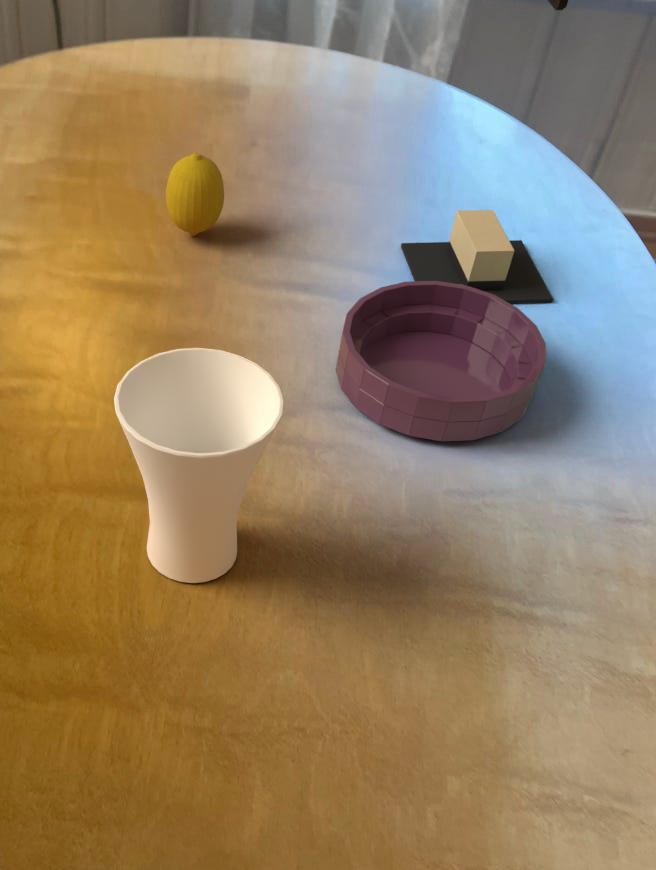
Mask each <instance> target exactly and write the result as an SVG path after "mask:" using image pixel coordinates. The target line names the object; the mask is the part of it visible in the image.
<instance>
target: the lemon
mask: <svg viewBox="0 0 656 870" xmlns="http://www.w3.org/2000/svg"><path fill="white" fill-rule="evenodd" d="M224 203H225V186H224V179H223V176H222V173H221V171H220V169H219V166H218V165H217V164H216V163H215V162H214V161H213V160H212V159H210V158H209V157H207V156H205V155H203V154H201V153H200V152H197V151H196V152H193V153H192V154H189V155H186V156H183V157H182V158H181V159H179V160H178V161H177V162H176V163H175V164H174V165H173V167H172V169H171V170H170V173H169V175H168V179H167V183H166V188H165V204H166V209H167V213H168V215H169V216H168V217H169V218H170V220H171V221H172V222H173V224H174V225H175V226H176V227H177V228H178V229H180V230H181V231H183V232H186V233H188V234H189V235H190V236H191V237H195V236H197V235H198V234H201V233H203V232H205V231H208V230H209V229H211V228H212V227H213V226H214V225H215V224H216V223H217V222H218V220H219V218H220V216H221V213H222V211H223V208H224Z"/></svg>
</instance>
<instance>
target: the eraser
mask: <svg viewBox="0 0 656 870" xmlns="http://www.w3.org/2000/svg"><path fill="white" fill-rule="evenodd" d="M510 241H511V240H510V239H509V238H508V235H507V234H506V231H505V229H504V228H503V226H502V224H501V222H500V220H499V218H498V216H497V215H496V213H495V211H494V209H473V210H472V209H471V210H469V209H468V210H466V209H465V210H456V211H455V216H454V221H453V223H452V228H451V233H450V236H449V241H448V242H449V244H448V248H447V251H448V253H449V255H450V258H451V260H452V262H453V264H454V267H455V269H456V271H457V273H458V275H459V278H460V280H461V282H462V284H463V285H465V286H469V287H472V288H475V289H479V290H482V291H486V290H502V289H503V285H504V282H505V279H506V276H507V273H508V270H509V267H510V263H511V260H512V257H513V254H514V249H513V247H512V245H511V243H510Z"/></svg>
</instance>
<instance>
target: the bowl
mask: <svg viewBox="0 0 656 870" xmlns="http://www.w3.org/2000/svg"><path fill="white" fill-rule="evenodd" d="M342 327H343V328H342V333H341V338H340V344H339V349H338V355H337V361H336V367H335V372H336V376H337V379H338V383H339V387H340V390H341V392H342V393H343V394H344V395H345V397H346V398H347V399H348V400H349V402H350V403H351V404H352V405H353V406H354V407H355V409H356V410H358V411H359V412H361V413H362V414H363V415H365V416H367V417H368V418H370V419H371V420H373V421H374V422H375V423H377V424H378V425H380V426H383V427H385V428H388V429H391V430H393V431H396V432H399V433H401V434H404V435H406V436H410V437H414V438H420V439H426V440H432V441H439V442H461V441H463V442H464V441H476V440H479V439H482V438H487V437H489V436H493V435H496V434H500V433H502V432H504V431H505V430H507V429H509V428H510V427H511V426H512V425H514V424H516V423H518V422H519V421H520V420H521V419H522V418H523V416H524V415H525V414H526V412H527V410H528V408H529V406H530V405H531V404H532V402H533V400H534V399H533V398H534V396H535V393H536V390H537V388H538V385H539V382H540V380H541V377H542V374H543V372H544V369H545V366H546V364H547V344H546V342H545V340H544V337H543V336H542V333H541V331H540V330H539V328H538V326H537V325H536V323H534V322H533V320H532V319H530V318H529V317H528V316H527V315H526V314H525V313H524V312H523V311H522V310H521V309H520V308H519V307H517V306H515V305H514V304H510V303H508V302H506V301H505V300H503V299H501V298H499V297H497V296H496V295H493V294H491V293H488V292H485V291H482V290H479V289H475V288H472V287H469V286H465V285H461V284H454V283H447V282H440V281H414V280H413V281H412V280H411V281H410V280H409V281H402V282H398V283H394V284H389V285H385V286H382V287H379V288H377V289H375V290H373V291H371V292H369V293H367V294H366V295H363V296H361V297H360V298H359V299H358V300H357V301H356V302H355V303H354V304H353V306H352V307H351V308H350V309H349V310H348V311H347V313H346V315H345V318H344V324H343V326H342Z"/></svg>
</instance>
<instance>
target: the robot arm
mask: <svg viewBox="0 0 656 870" xmlns="http://www.w3.org/2000/svg"><path fill="white" fill-rule="evenodd" d="M547 2H548V3H549V4H550V5H551V7H552V8H553V9H554V11H563V10H564V9H566V8H567V6H568V3H569V0H547Z"/></svg>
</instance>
